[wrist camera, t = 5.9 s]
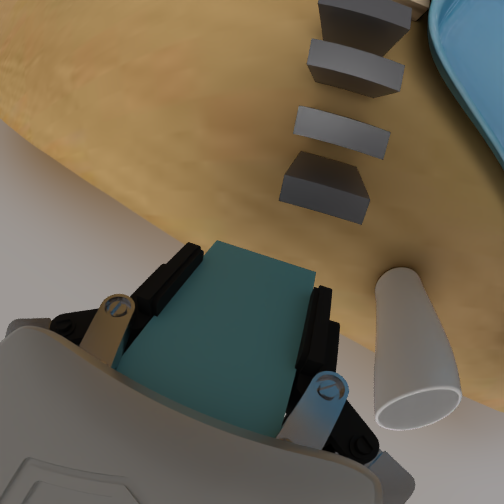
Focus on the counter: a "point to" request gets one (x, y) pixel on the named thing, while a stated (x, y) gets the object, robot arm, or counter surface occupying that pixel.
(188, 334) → the domino teal
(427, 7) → the oak block
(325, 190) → the domino
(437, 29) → the casserole dish
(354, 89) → the domino
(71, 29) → the counter surface
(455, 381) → the drinking glass
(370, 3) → the domino
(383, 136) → the domino
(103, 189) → the counter surface
